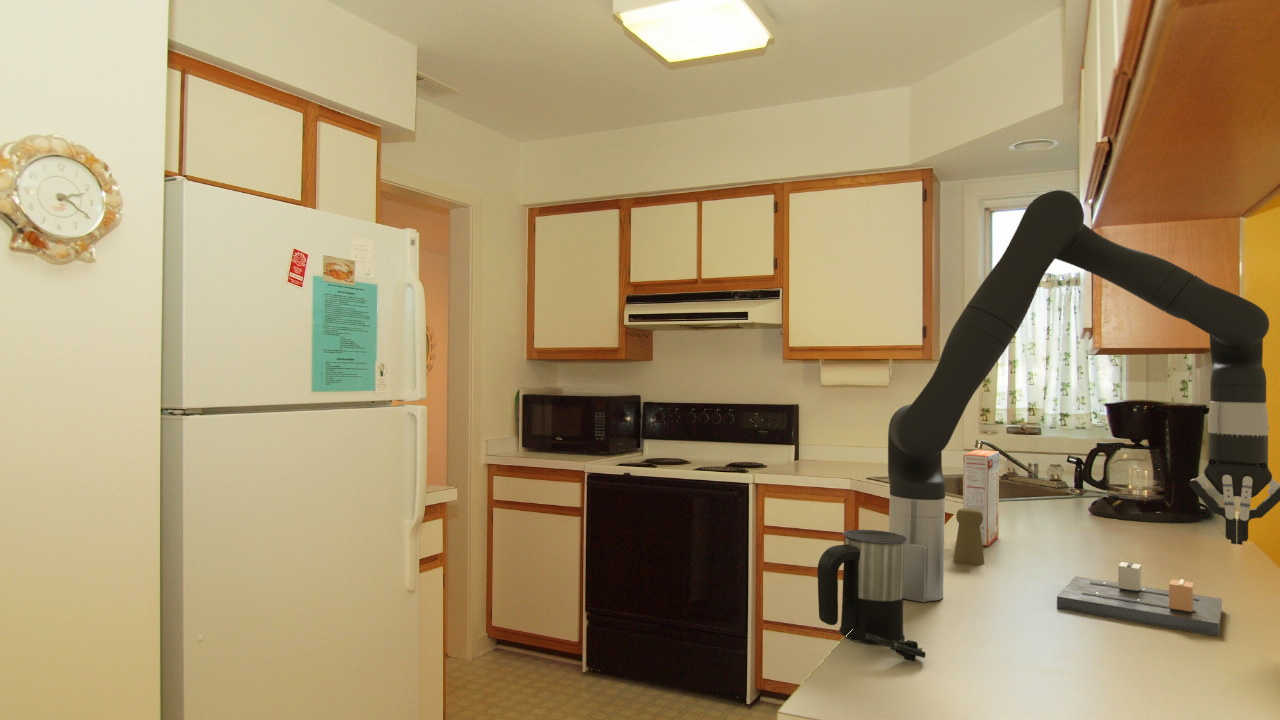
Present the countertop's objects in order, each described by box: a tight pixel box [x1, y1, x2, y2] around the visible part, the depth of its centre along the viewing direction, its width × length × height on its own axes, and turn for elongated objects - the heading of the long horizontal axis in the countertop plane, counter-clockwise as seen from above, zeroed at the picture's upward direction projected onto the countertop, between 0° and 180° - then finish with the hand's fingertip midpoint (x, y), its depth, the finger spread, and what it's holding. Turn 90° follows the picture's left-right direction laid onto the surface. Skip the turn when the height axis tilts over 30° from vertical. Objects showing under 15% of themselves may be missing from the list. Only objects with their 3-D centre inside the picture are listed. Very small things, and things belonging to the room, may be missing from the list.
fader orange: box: [1168, 578, 1195, 612], centre depth 129 cm, size 4×3×4 cm
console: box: [1056, 575, 1223, 638], centre depth 136 cm, size 18×22×2 cm
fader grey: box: [1117, 561, 1142, 591], centre depth 141 cm, size 4×3×4 cm
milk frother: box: [817, 529, 927, 662], centre depth 115 cm, size 14×16×15 cm
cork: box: [953, 507, 985, 566], centre depth 169 cm, size 6×6×11 cm
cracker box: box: [962, 449, 1000, 547], centre depth 191 cm, size 14×6×21 cm, turn 147°
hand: (1237, 543), depth 125 cm, fingers closed
